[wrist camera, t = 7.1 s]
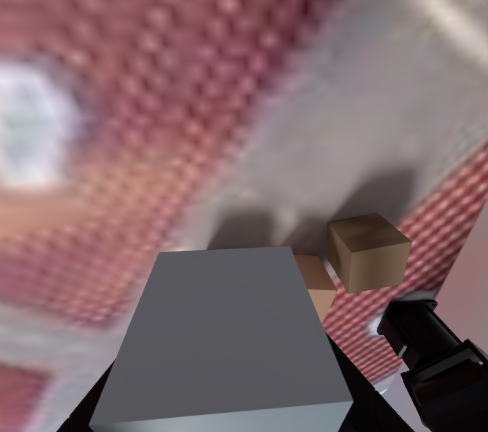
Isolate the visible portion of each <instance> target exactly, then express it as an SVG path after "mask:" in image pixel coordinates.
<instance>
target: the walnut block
mask: <svg viewBox="0 0 488 432" xmlns="http://www.w3.org/2000/svg"><path fill="white" fill-rule="evenodd" d="M411 244H412V241H411V240H410V239H408V238H407V237H406V236H405V235H403V234H402V233H401V232H400V231H399V230H397V229H396V228H395V227H394V226H392V225H391V224H390V223H389V222H387V221H386V220H385V219H384V218H383V217H381V216H380V215H379V214H378V213H374V214H368V215H363V216H358V217H353V218H348V219H342V220H337V221H332V222H328V261H329V262H330V264H331V266H332V267H333V269H334V271H335V272H336V274H337V276H338V277H339V279H340V281H341V282H342V284H343V286H344V287H345V289H346V291H347V292H348V294H350V293H355V292H361V291H366V290H372V289H377V288H383V287H388V286H394V285H399V284H402V281H403V277H404V273H405V268H406V264H407V260H408V256H409V252H410V248H411Z"/></svg>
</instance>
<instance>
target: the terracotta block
mask: <svg viewBox="0 0 488 432" xmlns="http://www.w3.org/2000/svg"><path fill="white" fill-rule="evenodd" d="M294 257H295V260H296V262H297V265H298V267H299V270H300V272H301V274H302V277H303V279H304V282H305V284H306V287H307V289H308V292H309V294H310V296H311V299H312V301H313V304H314V306H315V309H316V311H317V313H318V316H319V318H320V321H321V323H322V322H323V320H324V318H325V316H326V314H327V312H328V310H329V308H330V306H331V303H332V301H333V299H334V297H335V295H336V293H337V291H338V290H337V289H336V287H335V285H334V283H333V281H332V280H331V278H330V276H329V274H328V272H327V271H326V269H325V267H324V265H323V263H322V262H321V260H320V258H319V256H309V255H294Z"/></svg>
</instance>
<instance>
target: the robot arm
mask: <svg viewBox="0 0 488 432" xmlns="http://www.w3.org/2000/svg"><path fill="white" fill-rule="evenodd" d="M436 306H437V302H436V301H435V300H423V301H407V302H393V303H390V304H389V306H388V308H387V310H386V312H385V314H384V316H383V319H382V321H381V323H380V325H379V327H378V329H377V333H378V334H379V335H384V336H385V338H386V339H387V341H388V342H389V344H390V345H391V347H392V348H393V350H394V352H395V353H396V355H397V356H398V357H399V358H402V359H403V361H404V362H405V364H406V365H407V367H408V368H409V371H407V372H403V373H401V377H402V379H403V382H404V385H405V387H406V389H407V391H408V393H409V395H410V397H411V399H412V401H413V403H414V405H415V407H416V409H417V412H418V414H419V416H420V419H421V421H422V423H423V425H424V426H425V427H427V428H429V429H430V430H431V431H432V432H488V355H487V354H486V353H485V352H484V351H483V350H481V349H480V348H479V347H478V346H476V345H475V344H474V343H473V342H471V341H470V340H469V339H467V340H465V341H464V342H463V343H462V342H461V341H460V340H459V338H458V337H457V336H456V335H455V334H454V333H453V332H452V331H451V330H450V329H449V328H448V327H447V326H446V324H445V323H444V322H443V321H442V320H441V319H440V318H439V317H438V316H437V315H436V314H435V313H434V312H433V311H434V309H435V308H436ZM325 333H326V332H325ZM326 335H327V338H328V340H329V343H330V345H331V348H332V350H333V353H334V355H335V357H336V360H337V362H338V365H339V367H340V370H341V372H342V375H343V377H344V379H345V382H346V384H347V387H348V389H349V392H350V394H351V397H352V399H353V403H352V405H351V407H350V409H349V411H348V413H347V415H346V417H345V419H344V420H343V422H342V424H341V426H340V428H339V430H338V432H415V431H414V430H413V429H412V428H411V427H410V426H409V425H408V424H407V423H406V422H405V421H404V420H403V419H402V418H401V417H400V416H399V415H398V414H397V412H396V411H395V410H394V409H393V408H392V407H391V406H390V405H389V404H388V403H387V401H386V400H385V399H384V398H383V397H382V396H381V395H380V393H379V392H378V391H375V388H374V387H373V386H372V384H371V383H370V382H369V381H368V380H367V379H366V378H365V376H364V375H363V374H362V373H361V372H360V371H359V370H358V368H357V367H356V366H355V365H354V364H353V363H352V362H351V361H350V359H349V358H348V357H347V356H346V355H345V354H344V353H343V351H342V350H341V349H340V348H339V347H338V346H337V345H336V343H335V342H334V341H333V340H332V339H331V338H330V337H329V335H328V334H327V333H326ZM115 360H116V359H115ZM115 360H114V362H115ZM481 361H482V362H483V364H482V365H481V364H479V362H481ZM114 362H113V363H112V364H111V365H110V366H109V368H108V369H107V370H106V371H105V373H104V374H103V375H102V376H101V377H100V379H99V380H98V381H97V382H96V384H95V385H94V386H93V387H92V389H91V390H90V391H89V392H88V393H87V395H86V396H85V397H84V398H83V400H82V401H81V402H80V403H79V405H78V406H77V407H76V408H75V409H74V411H73V412H72V413H71V414H70V416H69V418H67V419H66V420H65V422H64V423H63V424H62V425H61V427H60V428H59V429H58V430H57V431H56V432H94V431H93V430H92V429H91V428H90V427H89V423H90V421H91V418H92V416H93V413H94V411H95V409H96V406H97V404H98V401H99V399H100V396H101V394H102V391H103V389H104V386H105V384H106V382H107V379H108V377H109V374H110V372H111V369H112V367H113V364H114Z"/></svg>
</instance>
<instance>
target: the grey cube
mask: <svg viewBox="0 0 488 432" xmlns="http://www.w3.org/2000/svg"><path fill="white" fill-rule="evenodd" d="M352 403H353V399H352V397H351V394H350V392H349V389H348V387H347V384H346V382H345V379H344V377H343V375H342V372H341V370H340V367H339V365H338V362H337V360H336V357H335V355H334V353H333V350H332V348H331V345H330V343H329V340H328V338H327V335H326V333H325V331H324V328H323V326H322V323H321V321H320V318H319V316H318V313H317V311H316V309H315V306H314V304H313V301H312V299H311V296H310V294H309V292H308V289H307V287H306V284H305V282H304V279H303V277H302V274H301V272H300V270H299V267H298V265H297V262H296V260H295V257H294V255H293V252H292V250H291V248H290V246H279V247H258V248H238V249H218V250H197V251H177V252H159V254H158V257H157V259H156V261H155V264H154V266H153V269H152V271H151V274H150V276H149V279H148V281H147V284H146V286H145V288H144V291H143V293H142V296H141V298H140V301H139V303H138V306H137V308H136V310H135V313H134V315H133V318H132V320H131V323H130V325H129V328H128V330H127V333H126V335H125V337H124V340H123V342H122V345H121V347H120V350H119V352H118V355H117V357H116V360H115V362H114V364H113V367H112V369H111V372H110V374H109V377H108V379H107V382H106V384H105V386H104V389H103V391H102V394H101V396H100V399H99V401H98V404H97V406H96V409H95V411H94V413H93V416H92V418H91V421H90V423H89V427H90V428H91V429H92V430H93V431H94V432H338V430H339V428H340V426H341V424H342V422H343V420H344V419H345V417H346V415H347V413H348V411H349V409H350V407H351V405H352Z"/></svg>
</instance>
